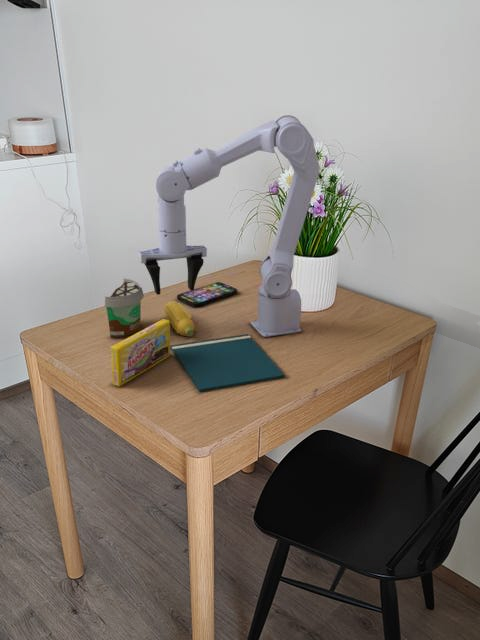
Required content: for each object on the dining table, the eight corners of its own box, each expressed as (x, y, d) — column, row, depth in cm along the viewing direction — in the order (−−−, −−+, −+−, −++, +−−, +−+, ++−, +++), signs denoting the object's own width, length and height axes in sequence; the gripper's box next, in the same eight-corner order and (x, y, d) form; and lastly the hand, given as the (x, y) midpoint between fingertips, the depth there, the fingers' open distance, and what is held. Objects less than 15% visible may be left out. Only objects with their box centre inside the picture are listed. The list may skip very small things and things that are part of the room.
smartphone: (239, 289, 163) (195, 304, 154) (239, 293, 163) (195, 308, 154) (218, 281, 167) (174, 295, 158) (218, 284, 168) (174, 298, 159)
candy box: (120, 388, 121) (117, 349, 117) (112, 385, 122) (108, 346, 118) (171, 356, 133) (170, 320, 128) (163, 353, 134) (162, 317, 129)
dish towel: (247, 336, 142) (247, 333, 142) (284, 377, 127) (285, 374, 126) (170, 347, 136) (170, 344, 136) (199, 392, 121) (199, 389, 121)
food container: (135, 343, 138) (131, 300, 132) (108, 340, 138) (104, 297, 133) (152, 321, 148) (150, 280, 142) (127, 318, 149) (124, 277, 143)
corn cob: (178, 313, 152) (178, 297, 150) (198, 340, 140) (198, 323, 138) (162, 315, 150) (161, 299, 148) (181, 342, 139) (181, 325, 136)
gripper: (199, 221, 137) (199, 281, 145) (133, 226, 133) (137, 288, 140) (210, 230, 132) (210, 292, 139) (142, 236, 127) (145, 300, 135)
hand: (174, 291), depth 139 cm, fingers open, 7 cm apart
